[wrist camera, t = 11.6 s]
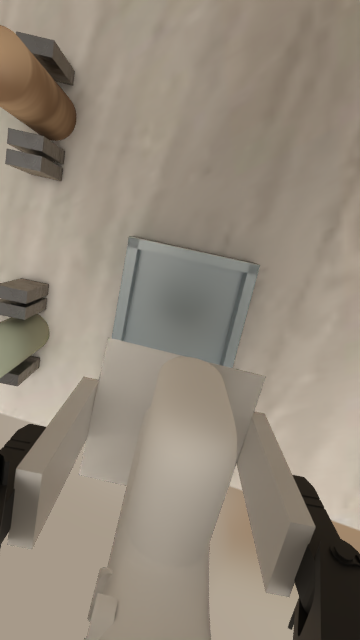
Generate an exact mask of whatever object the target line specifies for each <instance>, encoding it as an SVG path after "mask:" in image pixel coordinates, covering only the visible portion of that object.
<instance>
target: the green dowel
mask: <svg viewBox="0 0 360 640" xmlns="http://www.w3.org/2000/svg"><path fill="white" fill-rule="evenodd" d="M48 338H49V327H48V325H47V323H46V321H45V320H44V319H43V318H42V317H41V316H39V315H38V314H35V315H33V316H31V317H29V318H27V319H25V320H23V319H18V318H13V317H11V318H9V319H6V320H4V321H2V322H0V378H1V377H3V376H4V375H5V374H7V373H8V372H9V371H11V370H12V369H13V368H15V367H16V366H17V365H19V364H20V363H21V362H23V361H24V360H25V359H27V358H28V357H29V356H31V355H32V354H33V353H35V352H36V351H37V350H39V349H40V348H41V347H43V346H44V345H45V344H46V342H47V341H48Z"/></svg>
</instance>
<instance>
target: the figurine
mask: <svg viewBox="0 0 360 640" xmlns="http://www.w3.org/2000/svg"><path fill="white" fill-rule="evenodd" d="M265 378H266V376H262V375H258V374H254V373H250V372H246V371H242V370H238V369H234V368H230V367H226V366H222V365H218V364H214V363H210V362H205V361H203V360H200V359H197V358H192V357H185V356H181V355H177V354H173V353H169V352H165V351H161V350H157V349H153V348H149V347H145V346H141V345H137V344H133V343H129V342H125V341H121V340H117V339H112V338H108V340H107V345H106V350H105V354H104V359H103V364H102V368H101V373H100V378H99V382H98V387H97V392H96V397H95V401H94V406H93V411H92V415H91V420H90V426H89V432H88V437H87V439H86V443H85V449H84V453H83V458H82V463H81V467H80V472H79V475H81V476H86V477H90V478H95V479H99V480H103V481H107V482H112V483H116V484H121V485H125V486H127V487H126V491H125V495H124V500H123V504H122V508H121V513H120V517H119V521H118V525H117V529H116V533H115V538H114V542H113V546H112V550H111V554H110V559H109V563H108V567H107V568H105V567H103V568H101V569H100V571H99V575H98V579H97V583H96V587H95V591H94V595H93V598H92V603H91V606H90V611H89V615H88V620H89V622H90V626H89V630H88V634H87V637H86V638H84V640H211V634H210V618H209V550H210V540H211V537H212V534H213V531H214V528H215V525H216V522H217V519H218V516H219V513H220V510H221V507H222V504H223V501H224V499H225V496H226V493H227V490H228V487H229V484H230V481H231V478H232V475H233V472H234V469H235V466H236V463H237V460H238V457H239V454H240V451H241V448H242V445H243V442H244V440H245V437H246V434H247V431H248V428H249V424H250V421H251V418H252V416H253V413H254V410H255V407H256V404H257V401H258V398H259V395H260V393H261V390H262V387H263V384H264V381H265Z"/></svg>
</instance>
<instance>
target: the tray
mask: <svg viewBox="0 0 360 640" xmlns="http://www.w3.org/2000/svg"><path fill="white" fill-rule="evenodd" d="M259 267H260V265H258V264H255V263H251V262H247V261H242V260H238V259H233V258H228V257H224V256H219V255H215V254H210V253H206V252H201V251H197V250H192V249H187V248H183V247H178V246H174V245H169V244H165V243H160V242H156V241H151V240H146V239H142V238H137V237H131V236H129V240H128V246H127V252H126V258H125V263H124V269H123V275H122V281H121V287H120V292H119V298H118V304H117V310H116V316H115V321H114V327H113V333H112V339H117V340H121V341H125V342H129V343H133V344H137V345H141V346H145V347H149V348H153V349H157V350H161V351H165V352H169V353H173V354H177V355H181V356H185V357H192V358H197V359H200V360H203V361H205V362H210V363H214V364H218V365H222V366H226V367H230V368H233V364H234V360H235V356H236V353H237V349H238V345H239V341H240V338H241V334H242V330H243V327H244V323H245V319H246V315H247V312H248V308H249V304H250V301H251V297H252V293H253V289H254V286H255V282H256V278H257V275H258V271H259Z"/></svg>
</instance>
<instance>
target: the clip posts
mask: <svg viewBox="0 0 360 640" xmlns="http://www.w3.org/2000/svg"><path fill="white" fill-rule="evenodd" d="M16 35H17V36H18V37H19V38H20V40H21V41H22V42H23V43H24V44H25V46H26V47H27V48H28V49H29V50H30V52H31V53H32V54H33V55H34V56H35V58H36V59H37V60H38V61H39V62H40V64H41V65H42V66H43V67H44V68H45V70H46V71H47V72H48V73H49V74H50V76H51V77H52V78H53V79H54V80H55V81H56V82H60V83H64V84H69V85H73V81H74V72H75V71H74V69H73V68H72V66H71V65H70V63H69V62H68V60H67V59H66V57H65V56H64V54H63V53H62V51H61V50H60V48H59V47H58V45H57V44H56V42H55V41H54V40H50V39H46V38H42V37H37V36H33V35H29V34H25V33H21V32H16ZM7 144H9V145H11V146H13V147H15V148H16V149H18V150H20V151H22V152H19V151H15V150H11V149H7V151H6V163H5V164H8V165H10V166H12V167H15V168H17V169H20V170H22V171H24V172H27V173H29V174H32V175H36V176H41V177H45V178H50V179H54V180H59V181H61V180H62V172H63V168H61V167H59V166H58V165H56V164H54V163H52V162H56V163H60V164H64V155H65V151H64V150H63V149H61V148H60V147H58V146H57V145H56V144H54V143H53V142H51V141H50V140H49V139H47V138H46V137H44V136H41V135H36V134H32V133H28V132H23V131H19V130H15V129H10V128H8V139H7ZM48 288H49V284H46V283H41V282H36V281H32V280H27V279H22V278H20V279H16V280H12V281H8V282H4V283H0V298H1V299H0V315H4V316H8V317H13V318H18V319H23V320H25V319H27V318H29V317H31V316H33V315H35V314H37V313H39V312H41V311H43V310H45V309H46V304H47V298H42V297H44V296H46V295H48ZM39 362H40V358H38V357H33V356H29V357H28V358H27V359H25V360H24V361H23V362H21V363H20V364H19V365H17V366H16V367H15V368H13V369H12V370H11V371H9V372H8V373H7V374H5V375H4V376H3V377H1V378H0V383H3V384H8V385H13V386H19V385H20V384H21V383H22V382H23V381H24V380H25V379H26V378H28V377H29V376H30V375H31V374H32V373H33V372H34V371H36V370H37V369H38V368H39Z"/></svg>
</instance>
